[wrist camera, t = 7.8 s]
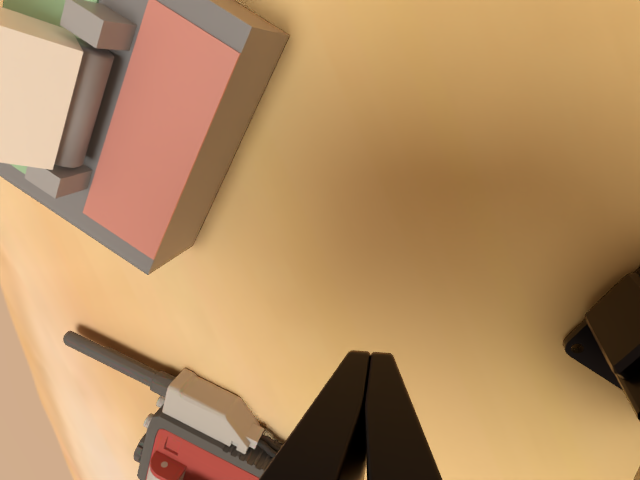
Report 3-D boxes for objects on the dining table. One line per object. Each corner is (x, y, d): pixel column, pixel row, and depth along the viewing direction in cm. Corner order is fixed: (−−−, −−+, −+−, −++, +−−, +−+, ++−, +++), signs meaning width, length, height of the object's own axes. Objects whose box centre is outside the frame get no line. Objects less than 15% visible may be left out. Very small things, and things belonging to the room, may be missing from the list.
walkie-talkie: (365, 449, 27) (82, 311, 29) (348, 515, 23) (24, 348, 25) (320, 535, 30) (72, 405, 33) (299, 605, 26) (20, 451, 29)
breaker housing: (289, 35, 20) (229, 21, 14) (192, 245, 25) (122, 292, 19) (103, -82, 20) (-22, -136, 15) (46, 148, 25) (-61, 168, 20)
